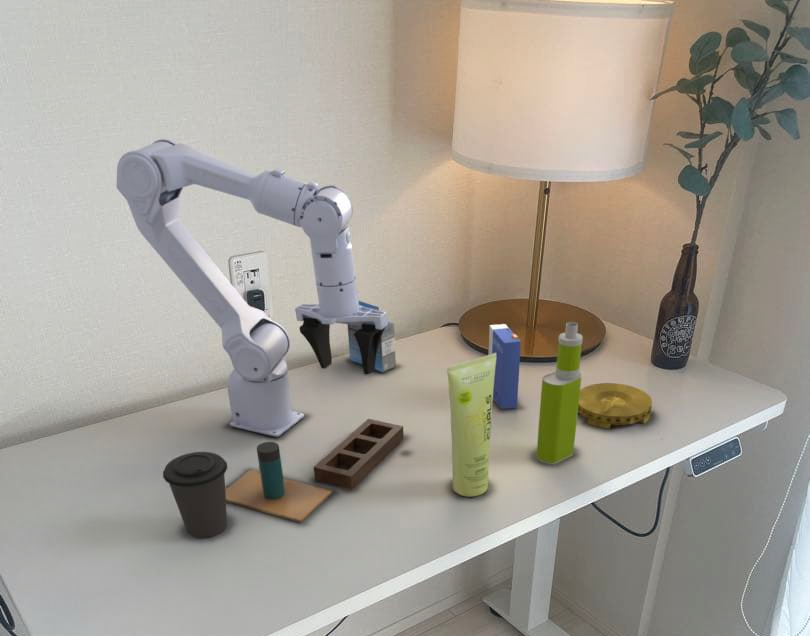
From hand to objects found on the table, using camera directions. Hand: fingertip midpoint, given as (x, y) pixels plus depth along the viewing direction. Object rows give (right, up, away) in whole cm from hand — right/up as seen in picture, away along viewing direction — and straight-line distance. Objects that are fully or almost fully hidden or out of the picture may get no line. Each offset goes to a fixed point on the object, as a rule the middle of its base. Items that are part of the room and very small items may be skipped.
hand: (347, 368), depth 122 cm
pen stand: (+2, -14, -2) cm, 14 cm away
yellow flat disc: (+42, -5, +9) cm, 44 cm away
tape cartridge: (+3, +6, +27) cm, 28 cm away
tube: (+18, -19, -9) cm, 27 cm away
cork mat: (-10, -20, -9) cm, 24 cm away
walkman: (+25, -3, +13) cm, 29 cm away
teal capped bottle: (-10, -19, -10) cm, 24 cm away
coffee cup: (-18, -24, -15) cm, 33 cm away
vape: (+31, -13, -2) cm, 34 cm away
